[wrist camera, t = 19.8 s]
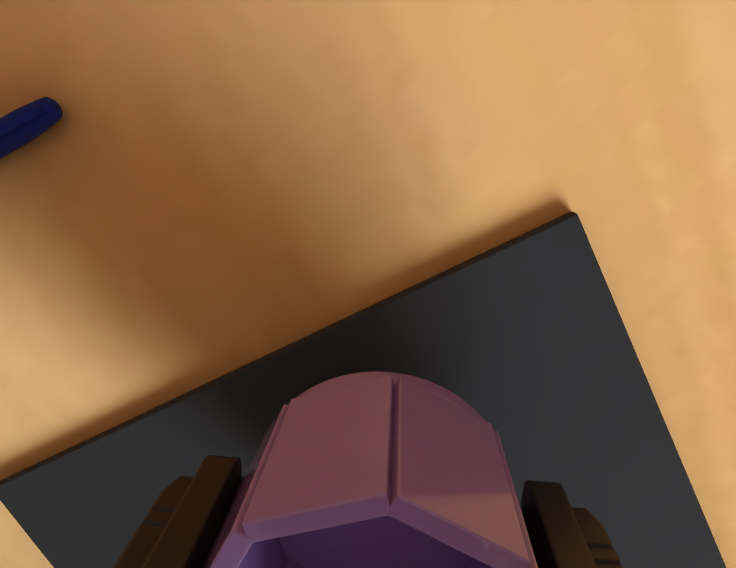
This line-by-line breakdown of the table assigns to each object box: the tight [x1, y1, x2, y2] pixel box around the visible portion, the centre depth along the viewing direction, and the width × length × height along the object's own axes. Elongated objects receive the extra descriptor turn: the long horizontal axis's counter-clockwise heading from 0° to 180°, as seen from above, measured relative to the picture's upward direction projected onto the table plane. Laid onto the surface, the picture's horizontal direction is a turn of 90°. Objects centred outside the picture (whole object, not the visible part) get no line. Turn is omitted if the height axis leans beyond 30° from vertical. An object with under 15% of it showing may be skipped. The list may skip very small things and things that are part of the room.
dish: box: [202, 371, 538, 568], centre depth 11 cm, size 6×6×4 cm
